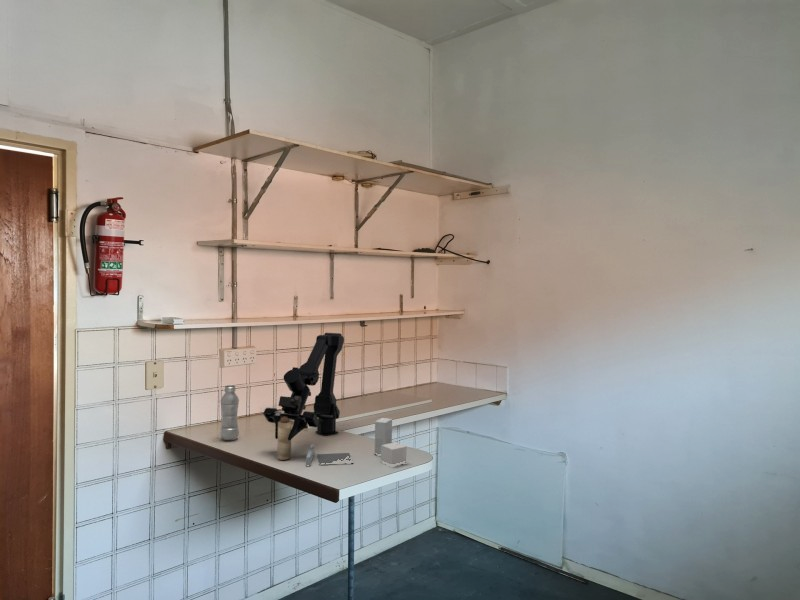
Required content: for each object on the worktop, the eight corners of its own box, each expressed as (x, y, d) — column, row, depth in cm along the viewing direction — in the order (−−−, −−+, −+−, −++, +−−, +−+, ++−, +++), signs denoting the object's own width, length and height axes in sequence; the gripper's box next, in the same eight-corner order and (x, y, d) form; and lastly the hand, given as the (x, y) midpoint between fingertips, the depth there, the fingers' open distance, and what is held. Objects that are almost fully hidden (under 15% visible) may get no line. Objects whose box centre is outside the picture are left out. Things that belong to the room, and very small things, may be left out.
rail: (310, 453, 202) (311, 444, 202) (314, 453, 202) (314, 444, 202) (306, 466, 188) (306, 457, 188) (309, 466, 188) (309, 457, 188)
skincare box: (380, 450, 207) (381, 417, 207) (391, 452, 206) (392, 418, 205) (373, 455, 202) (374, 421, 201) (385, 457, 200) (386, 422, 200)
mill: (286, 454, 199) (286, 414, 198) (293, 457, 195) (293, 416, 195) (275, 457, 196) (275, 415, 195) (281, 460, 192) (282, 418, 192)
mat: (317, 455, 200) (317, 454, 200) (349, 453, 203) (349, 452, 202) (319, 465, 189) (319, 464, 189) (353, 464, 192) (353, 462, 192)
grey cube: (391, 467, 189) (392, 449, 189) (380, 462, 194) (381, 445, 194) (406, 464, 193) (406, 446, 193) (394, 459, 198) (395, 442, 198)
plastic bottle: (240, 440, 215) (241, 387, 214) (222, 443, 212) (222, 388, 211) (236, 436, 221) (237, 384, 220) (218, 438, 217) (218, 385, 217)
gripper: (266, 384, 201) (248, 423, 191) (315, 388, 195) (300, 429, 185) (277, 402, 209) (260, 441, 199) (325, 406, 203) (310, 446, 193)
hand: (282, 439), depth 194 cm, fingers closed on mill, 4 cm apart
